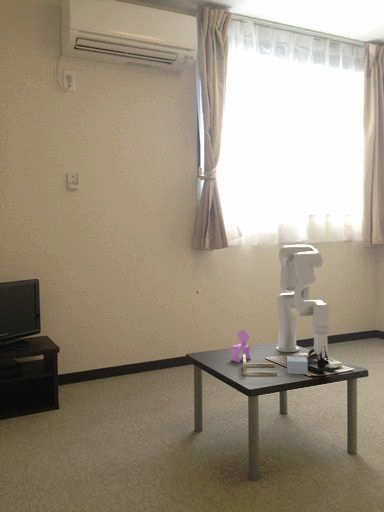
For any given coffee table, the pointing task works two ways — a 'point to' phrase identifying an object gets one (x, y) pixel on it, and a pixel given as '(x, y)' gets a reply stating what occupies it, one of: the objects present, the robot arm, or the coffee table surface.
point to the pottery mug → (314, 355)
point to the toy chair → (241, 346)
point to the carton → (297, 365)
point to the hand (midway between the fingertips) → (321, 367)
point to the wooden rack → (257, 366)
